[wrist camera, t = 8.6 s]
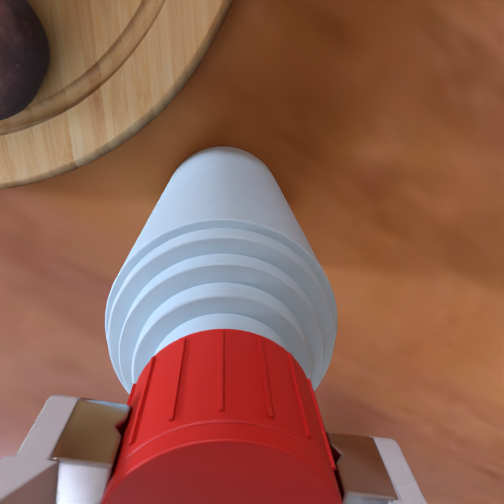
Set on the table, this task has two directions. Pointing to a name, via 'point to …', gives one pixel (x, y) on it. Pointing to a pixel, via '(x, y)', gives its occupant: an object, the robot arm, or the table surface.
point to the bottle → (221, 269)
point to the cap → (223, 428)
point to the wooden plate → (91, 75)
